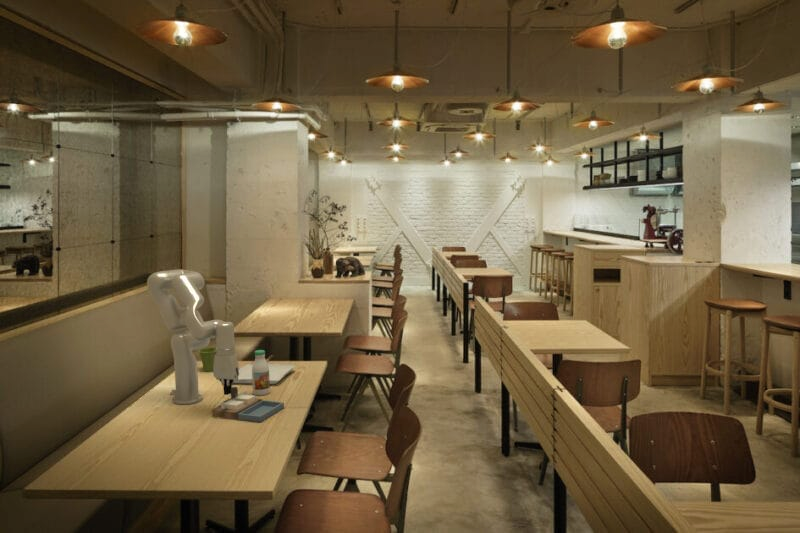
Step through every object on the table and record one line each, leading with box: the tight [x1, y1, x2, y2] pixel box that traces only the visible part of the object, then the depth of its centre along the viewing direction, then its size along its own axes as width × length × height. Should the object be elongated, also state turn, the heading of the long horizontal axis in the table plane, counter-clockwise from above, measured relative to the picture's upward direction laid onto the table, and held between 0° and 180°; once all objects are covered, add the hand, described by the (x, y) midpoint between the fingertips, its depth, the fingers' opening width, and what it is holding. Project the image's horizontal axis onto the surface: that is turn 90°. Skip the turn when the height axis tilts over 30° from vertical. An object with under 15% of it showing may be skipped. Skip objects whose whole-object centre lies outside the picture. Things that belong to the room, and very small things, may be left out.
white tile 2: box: [238, 394, 256, 404], centre depth 255 cm, size 5×5×2 cm
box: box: [237, 399, 285, 423], centre depth 248 cm, size 11×18×2 cm, turn 160°
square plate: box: [233, 363, 296, 385], centre depth 301 cm, size 27×27×4 cm
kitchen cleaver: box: [265, 354, 275, 363], centre depth 332 cm, size 24×1×10 cm
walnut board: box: [211, 397, 263, 421], centre depth 252 cm, size 12×18×3 cm, turn 160°
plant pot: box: [197, 346, 216, 373], centre depth 316 cm, size 12×12×11 cm
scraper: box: [220, 386, 248, 409], centre depth 252 cm, size 2×16×7 cm, turn 160°
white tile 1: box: [227, 401, 244, 410], centre depth 247 cm, size 5×5×2 cm
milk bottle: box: [251, 349, 271, 396], centre depth 275 cm, size 8×8×20 cm
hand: (227, 393), depth 253 cm, fingers closed
